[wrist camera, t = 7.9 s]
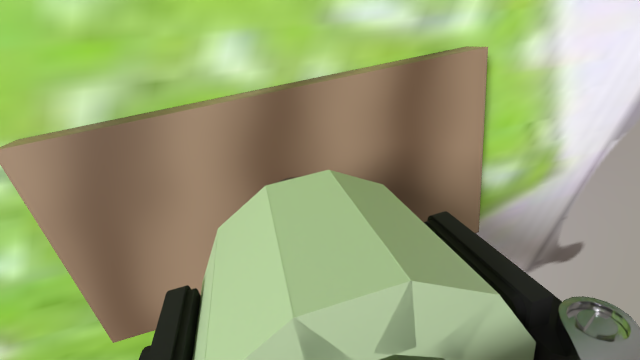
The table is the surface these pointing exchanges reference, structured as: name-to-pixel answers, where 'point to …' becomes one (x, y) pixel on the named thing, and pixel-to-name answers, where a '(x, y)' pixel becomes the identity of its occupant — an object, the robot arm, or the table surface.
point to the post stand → (243, 170)
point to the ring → (345, 283)
